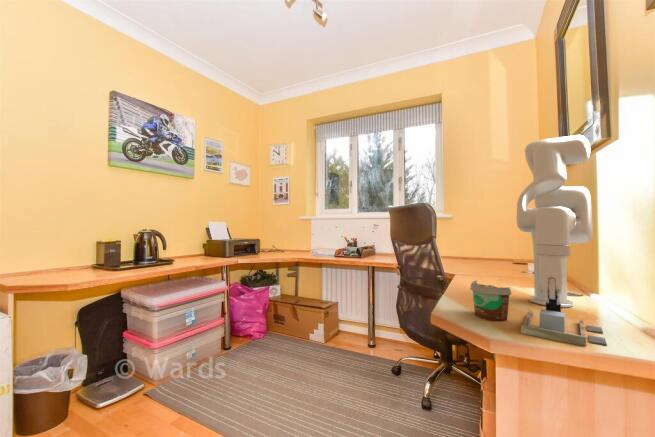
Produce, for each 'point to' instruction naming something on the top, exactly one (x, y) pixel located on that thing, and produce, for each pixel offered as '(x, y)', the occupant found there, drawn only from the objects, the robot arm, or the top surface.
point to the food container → (490, 301)
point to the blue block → (552, 320)
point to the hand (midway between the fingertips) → (553, 317)
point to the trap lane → (561, 335)
